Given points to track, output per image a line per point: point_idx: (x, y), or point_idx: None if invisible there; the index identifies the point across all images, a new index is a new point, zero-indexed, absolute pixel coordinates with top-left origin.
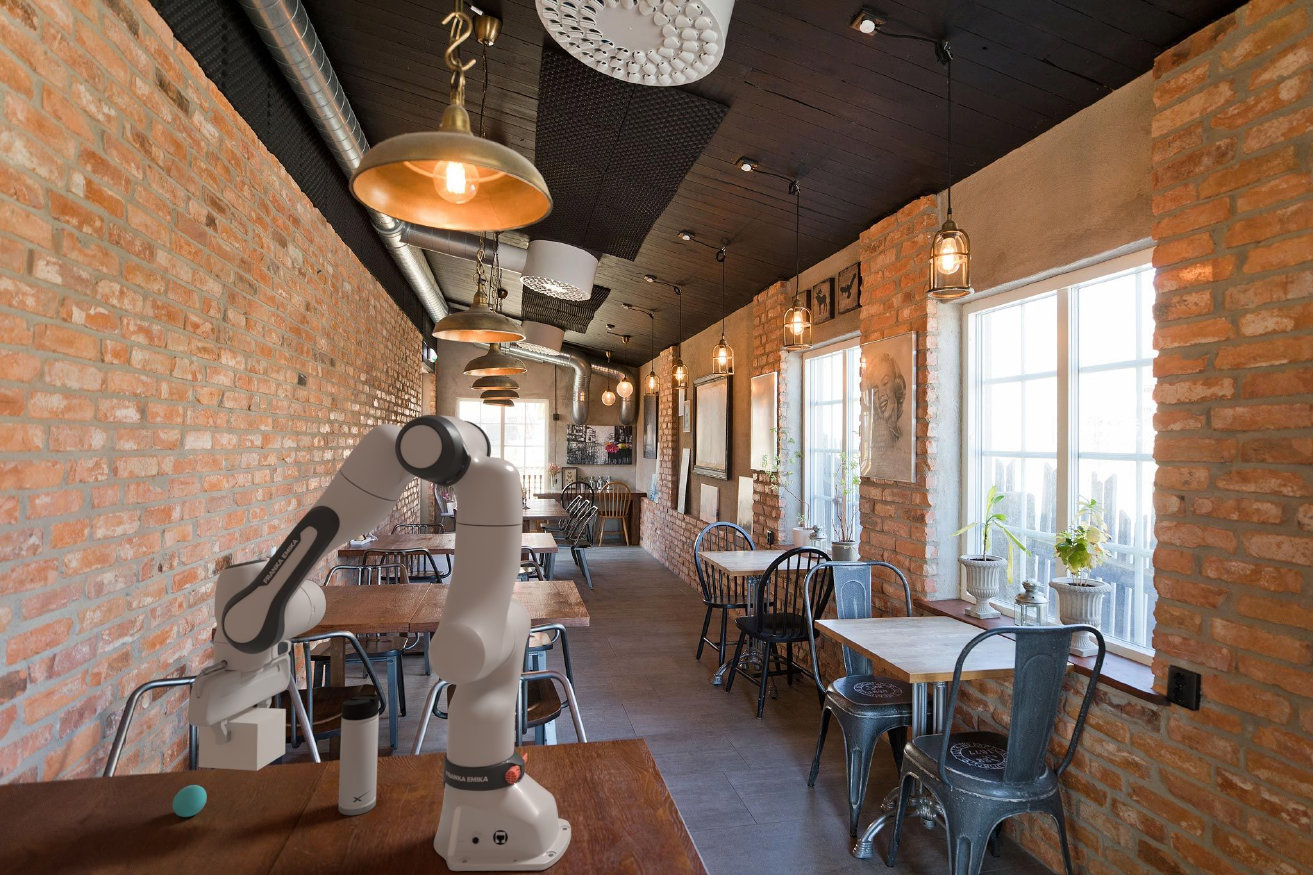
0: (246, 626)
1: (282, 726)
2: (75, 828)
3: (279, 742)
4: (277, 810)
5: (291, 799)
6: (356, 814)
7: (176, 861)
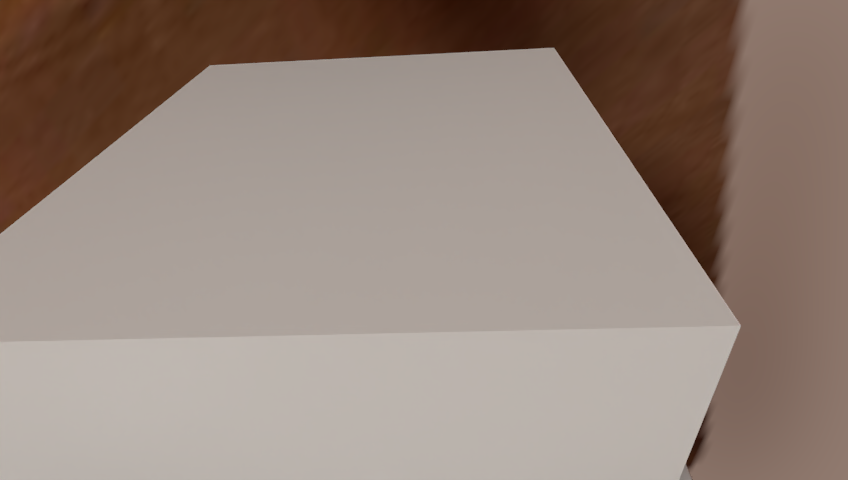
0: None
1: (125, 179)
2: None
3: (244, 105)
4: (300, 39)
5: (202, 50)
6: None
7: (712, 129)
